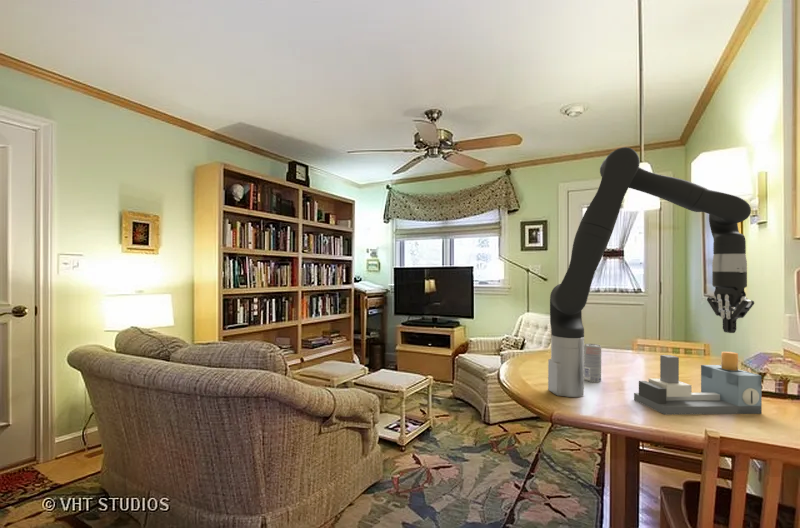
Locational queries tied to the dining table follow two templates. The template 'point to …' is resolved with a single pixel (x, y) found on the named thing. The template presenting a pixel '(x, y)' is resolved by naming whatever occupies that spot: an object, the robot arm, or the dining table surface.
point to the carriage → (671, 378)
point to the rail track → (709, 394)
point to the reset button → (729, 360)
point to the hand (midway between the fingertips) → (729, 332)
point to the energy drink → (592, 362)
